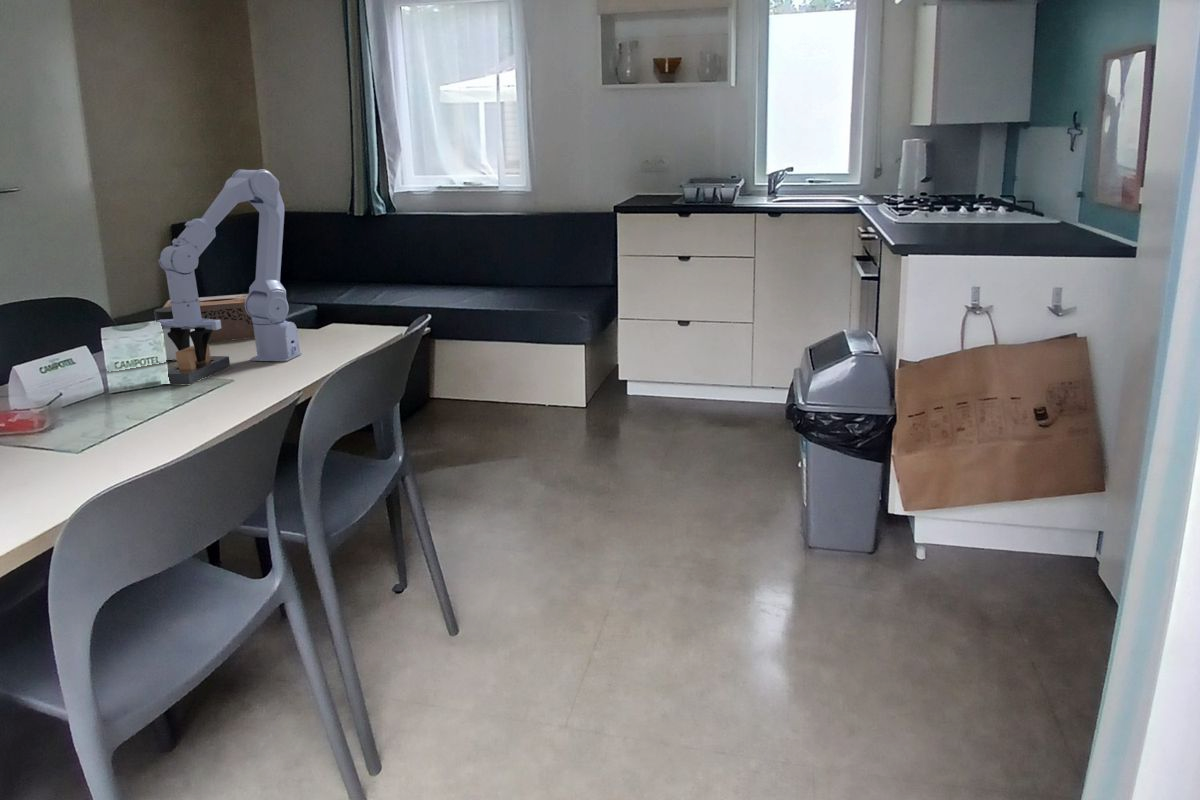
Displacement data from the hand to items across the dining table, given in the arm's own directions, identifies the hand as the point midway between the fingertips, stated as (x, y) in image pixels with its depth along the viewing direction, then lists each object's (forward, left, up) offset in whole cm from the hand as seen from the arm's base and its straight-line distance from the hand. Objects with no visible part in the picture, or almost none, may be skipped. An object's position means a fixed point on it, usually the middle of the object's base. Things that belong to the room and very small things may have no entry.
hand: (194, 360), depth 205 cm
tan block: (0, 0, -3) cm, 3 cm away
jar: (+15, -17, -4) cm, 23 cm away
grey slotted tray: (0, 0, -3) cm, 3 cm away
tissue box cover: (+19, -41, -4) cm, 45 cm away
